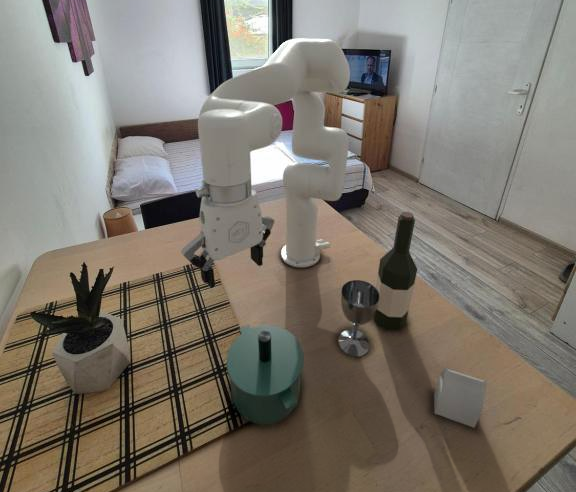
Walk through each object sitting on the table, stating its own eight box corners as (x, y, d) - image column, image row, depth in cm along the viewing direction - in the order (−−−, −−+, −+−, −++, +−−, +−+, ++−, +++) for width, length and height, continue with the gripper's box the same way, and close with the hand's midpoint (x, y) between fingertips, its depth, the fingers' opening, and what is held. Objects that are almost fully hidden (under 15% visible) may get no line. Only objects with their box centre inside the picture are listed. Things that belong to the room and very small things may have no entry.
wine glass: (373, 333, 78) (380, 284, 71) (369, 362, 71) (377, 311, 65) (340, 324, 80) (345, 276, 74) (333, 351, 73) (338, 301, 67)
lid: (278, 318, 72) (278, 295, 69) (318, 372, 60) (320, 347, 58) (215, 350, 64) (212, 325, 62) (248, 417, 53) (246, 391, 50)
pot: (271, 337, 76) (271, 310, 73) (321, 410, 62) (324, 381, 58) (216, 367, 70) (213, 338, 66) (258, 456, 55) (256, 426, 51)
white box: (474, 427, 59) (488, 392, 55) (434, 413, 61) (445, 378, 57) (472, 407, 62) (485, 373, 58) (434, 394, 64) (444, 360, 60)
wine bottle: (407, 310, 84) (429, 210, 72) (403, 335, 77) (426, 228, 65) (375, 300, 87) (390, 202, 75) (368, 323, 80) (384, 219, 68)
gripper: (184, 212, 45) (197, 306, 52) (284, 182, 54) (284, 264, 61) (166, 193, 50) (180, 280, 57) (260, 168, 60) (262, 245, 67)
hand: (234, 272), depth 59 cm, fingers open, 9 cm apart
